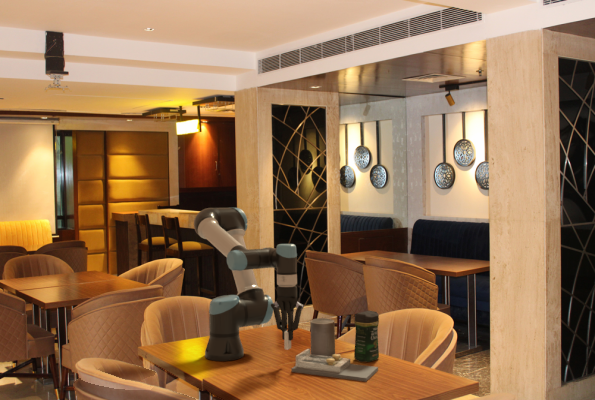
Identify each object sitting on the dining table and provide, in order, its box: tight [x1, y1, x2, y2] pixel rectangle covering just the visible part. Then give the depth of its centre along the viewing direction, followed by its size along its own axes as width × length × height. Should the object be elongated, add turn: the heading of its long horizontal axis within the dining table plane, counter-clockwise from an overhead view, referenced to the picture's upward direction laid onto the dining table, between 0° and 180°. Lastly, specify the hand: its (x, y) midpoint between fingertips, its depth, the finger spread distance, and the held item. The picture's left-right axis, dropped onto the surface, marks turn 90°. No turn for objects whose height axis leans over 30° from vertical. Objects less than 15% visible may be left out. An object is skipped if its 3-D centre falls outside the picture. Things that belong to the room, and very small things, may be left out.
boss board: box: [291, 353, 379, 383], centre depth 207 cm, size 28×14×5 cm, turn 66°
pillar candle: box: [309, 317, 336, 357], centre depth 228 cm, size 10×10×15 cm
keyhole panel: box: [295, 348, 351, 373], centre depth 209 cm, size 17×11×4 cm, turn 66°
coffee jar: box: [353, 310, 380, 363], centre depth 222 cm, size 10×8×19 cm
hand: (287, 348), depth 214 cm, fingers closed
